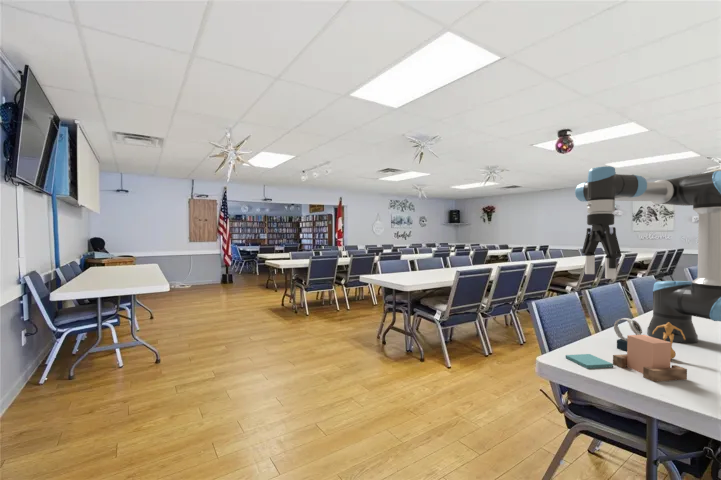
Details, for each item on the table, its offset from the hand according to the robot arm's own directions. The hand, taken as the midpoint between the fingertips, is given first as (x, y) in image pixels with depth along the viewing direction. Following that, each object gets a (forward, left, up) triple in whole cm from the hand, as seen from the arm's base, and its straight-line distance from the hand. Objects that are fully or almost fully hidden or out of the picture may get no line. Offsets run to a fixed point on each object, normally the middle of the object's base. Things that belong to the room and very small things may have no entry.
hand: (599, 276), depth 114 cm
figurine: (-22, +4, -28) cm, 36 cm away
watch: (-17, -6, -28) cm, 33 cm away
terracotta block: (-4, +13, -27) cm, 31 cm away
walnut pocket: (-4, +13, -27) cm, 31 cm away
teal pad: (+8, +4, -27) cm, 29 cm away
